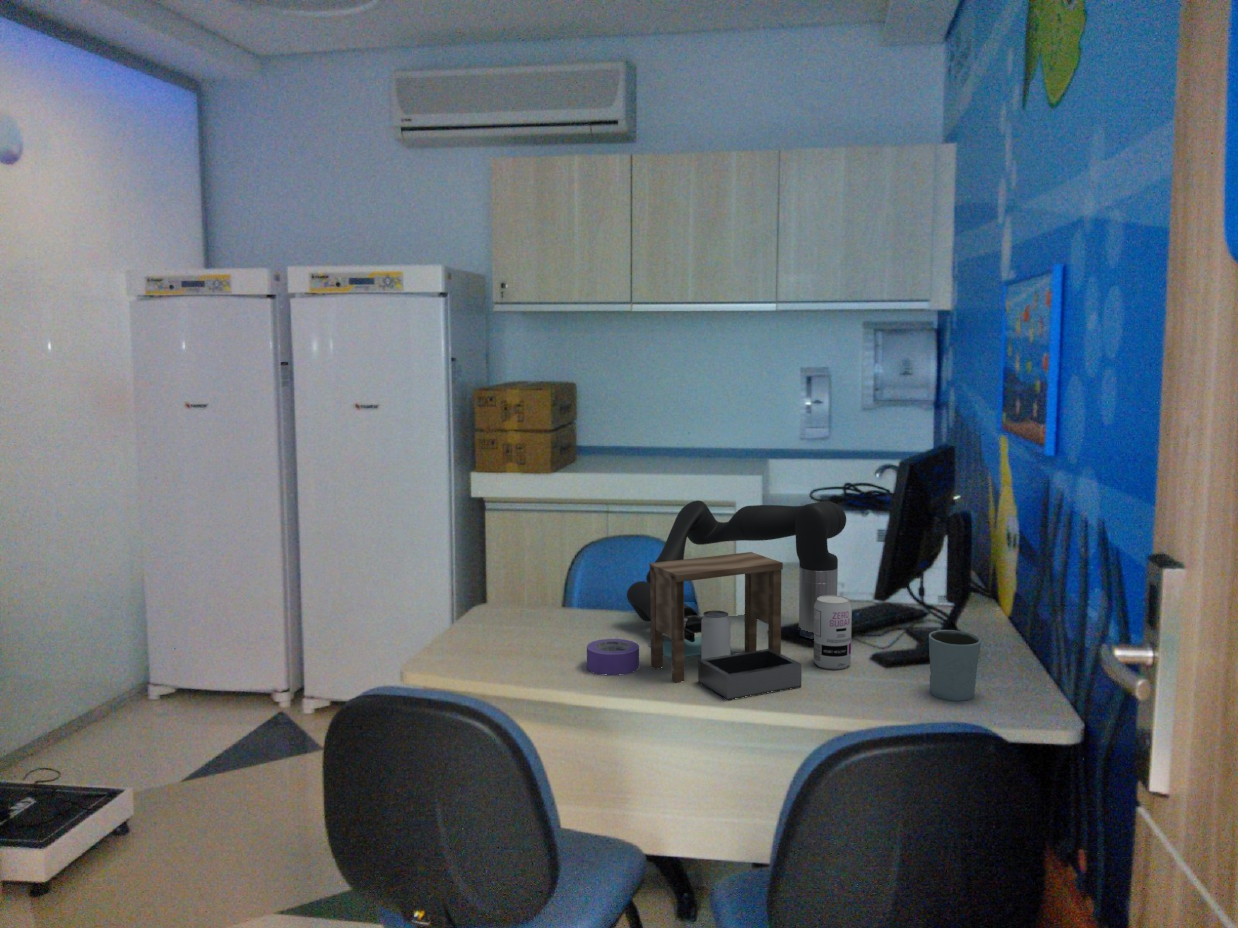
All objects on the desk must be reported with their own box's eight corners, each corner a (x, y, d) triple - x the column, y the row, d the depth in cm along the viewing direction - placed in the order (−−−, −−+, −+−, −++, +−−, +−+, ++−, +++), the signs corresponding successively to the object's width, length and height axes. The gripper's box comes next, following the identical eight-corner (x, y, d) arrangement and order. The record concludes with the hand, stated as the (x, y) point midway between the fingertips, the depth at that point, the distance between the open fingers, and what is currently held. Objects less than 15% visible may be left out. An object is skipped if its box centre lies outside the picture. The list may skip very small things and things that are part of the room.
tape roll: (639, 659, 225) (639, 638, 225) (639, 676, 214) (638, 653, 213) (588, 659, 226) (588, 638, 225) (585, 676, 214) (584, 654, 214)
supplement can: (826, 656, 225) (827, 592, 224) (857, 664, 220) (859, 599, 218) (806, 664, 220) (806, 599, 218) (837, 673, 214) (838, 606, 212)
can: (711, 672, 215) (711, 619, 214) (695, 664, 221) (695, 612, 220) (736, 667, 218) (736, 615, 217) (720, 659, 224) (720, 608, 223)
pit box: (698, 682, 209) (698, 660, 208) (769, 670, 216) (769, 648, 215) (727, 700, 198) (727, 676, 197) (801, 687, 205) (801, 664, 205)
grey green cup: (935, 682, 207) (937, 627, 206) (985, 691, 202) (987, 634, 200) (920, 696, 199) (922, 639, 198) (971, 706, 193) (973, 647, 192)
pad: (648, 646, 235) (648, 644, 235) (699, 638, 241) (699, 636, 241) (671, 660, 224) (671, 658, 224) (724, 651, 230) (724, 650, 230)
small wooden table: (650, 665, 220) (649, 563, 217) (750, 649, 231) (751, 552, 228) (677, 683, 208) (676, 575, 206) (781, 665, 219) (782, 562, 216)
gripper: (701, 628, 239) (736, 646, 225) (649, 636, 233) (682, 655, 219) (701, 598, 238) (736, 614, 224) (649, 605, 232) (681, 623, 218)
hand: (709, 635), depth 221 cm, fingers open, 8 cm apart
